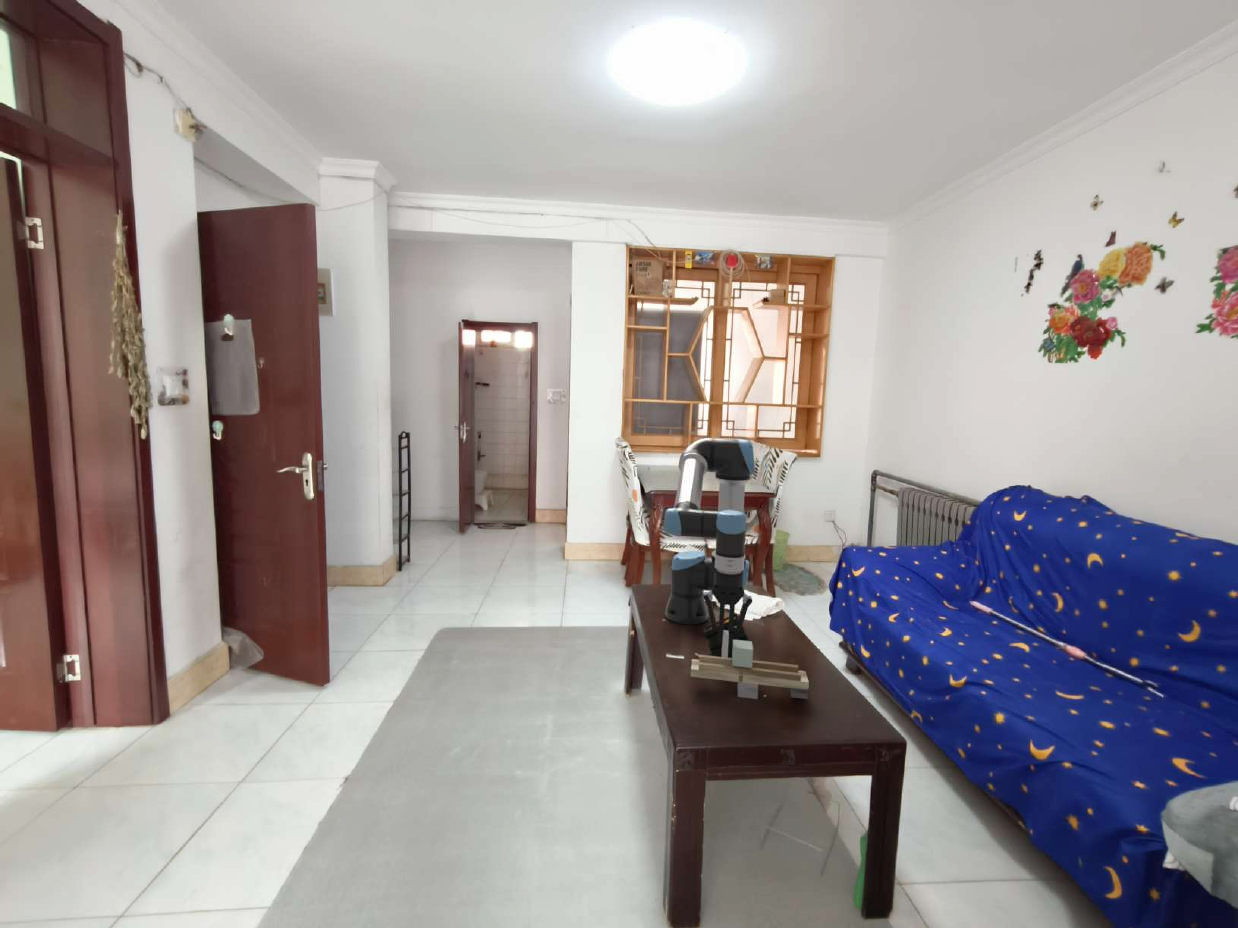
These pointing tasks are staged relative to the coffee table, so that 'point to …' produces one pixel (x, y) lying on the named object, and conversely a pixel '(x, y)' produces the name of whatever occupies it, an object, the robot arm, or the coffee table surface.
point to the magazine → (713, 638)
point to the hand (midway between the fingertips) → (724, 655)
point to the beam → (752, 675)
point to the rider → (742, 653)
